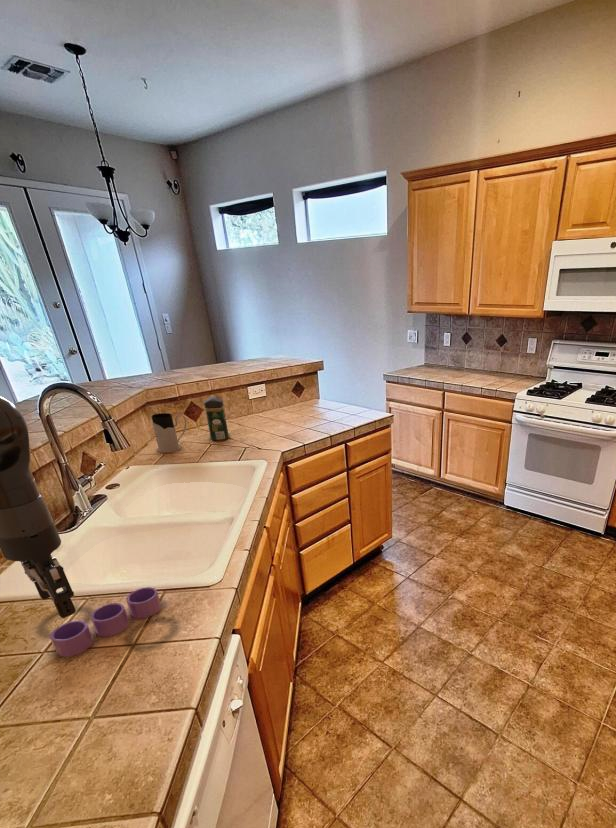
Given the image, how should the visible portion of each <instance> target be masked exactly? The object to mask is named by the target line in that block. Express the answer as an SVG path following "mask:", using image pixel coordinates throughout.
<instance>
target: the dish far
mask: <svg viewBox="0 0 616 828" xmlns="http://www.w3.org/2000/svg"><path fill="white" fill-rule="evenodd" d="M125 599H126V600H125V601H126V603H127V606H128V609H129V613H130V616H132V617H133V618H134V619H146V618H149V617H152V616H154V615H156V614H157V613H159V611H160V610H161V609H162V603H161V602H162V601H161V599H160V596H159V592H158V589H156V587H151V586H147V587H146V586H145V587H141V588H138V589H135V590H133V591H131V592H130V593H129V594H128V595H127V596H126V598H125Z"/></svg>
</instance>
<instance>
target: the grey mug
mask: <svg viewBox="0 0 616 828" xmlns="http://www.w3.org/2000/svg"><path fill="white" fill-rule="evenodd" d="M150 417H151V421H152V426H153V431H154V435H155V440H156V443H157V447H158V450H157V451H158V452H159V453H174V452H177V451H179V450H180V449H181V446H180V443H179V441H180V440H181V438H182V437H183V435H185V432H186V430H187V419H186V417H185V415H182V414H177V415H176V417H175V419H173V414H172V413H169V412H164V413H155V414H152V415H151V416H150ZM179 417H183V420H184V427H183V431H182V433H181V434H180V436H179V437H178V436H177V430H176V427H177V426H178V418H179ZM174 422H175V423H174Z"/></svg>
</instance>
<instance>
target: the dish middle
mask: <svg viewBox="0 0 616 828" xmlns="http://www.w3.org/2000/svg"><path fill="white" fill-rule="evenodd" d="M90 620H91V623H92V626H93V628H94V631H95V633H96V634H97V635H98V636H99V637H111V636H115V635H118V634H120V633H121V632H123V631H124V630H126V629H127V628H128V626H129V625H130V619H129V616H128V613H127V609H126V607H125V605H124V604H123V603H120V602H111V603H107V604H104V605H101V606H99V607H97V608H96V609H95V610H93V611H92V613H90Z"/></svg>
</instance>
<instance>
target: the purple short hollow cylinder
mask: <svg viewBox="0 0 616 828" xmlns="http://www.w3.org/2000/svg"><path fill="white" fill-rule="evenodd" d="M49 639H50V641H51V643H52V645H53V647H54V649H55V651H56V654H57V655H58V656H59V657H64V658H67V657H73V656H77V655H79V654H81V653H84V652H85V651H87V650H88V649H89V648H91V646H92V645H93V643H94V637H93V634H92V632H91V630H90V627H89V624H88V623H87V622H86V621H85V620H80V619H79V620H72V621H68V622H64V623H62V624H61V625H58V626H57V627H56V628H55V629H53V630H52V632H51V633H50V636H49Z"/></svg>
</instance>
